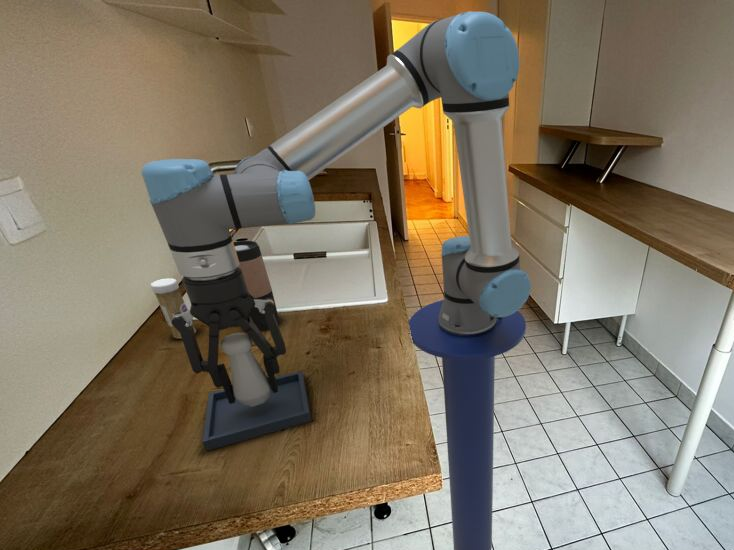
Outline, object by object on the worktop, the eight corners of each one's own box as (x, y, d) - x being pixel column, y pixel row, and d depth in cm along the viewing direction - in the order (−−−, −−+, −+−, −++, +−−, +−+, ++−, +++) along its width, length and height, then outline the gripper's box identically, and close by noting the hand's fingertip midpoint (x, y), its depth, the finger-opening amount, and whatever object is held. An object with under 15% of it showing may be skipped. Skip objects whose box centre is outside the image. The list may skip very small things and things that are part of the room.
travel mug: (238, 330, 99) (210, 250, 89) (258, 315, 105) (235, 239, 95) (268, 332, 98) (243, 252, 88) (287, 317, 104) (266, 241, 95)
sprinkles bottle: (194, 337, 95) (172, 284, 88) (170, 340, 94) (146, 287, 87) (199, 328, 99) (178, 276, 92) (176, 331, 97) (153, 278, 90)
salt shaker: (244, 390, 75) (221, 329, 69) (278, 387, 76) (259, 326, 70) (232, 411, 70) (207, 348, 64) (268, 408, 71) (247, 345, 65)
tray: (304, 379, 83) (302, 370, 82) (311, 421, 73) (309, 412, 72) (212, 401, 76) (208, 392, 75) (206, 451, 66) (202, 441, 65)
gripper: (124, 292, 54) (186, 423, 66) (283, 270, 62) (314, 390, 74) (136, 272, 60) (192, 396, 71) (281, 254, 68) (310, 368, 80)
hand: (254, 393), depth 73 cm, fingers closed on salt shaker, 6 cm apart
